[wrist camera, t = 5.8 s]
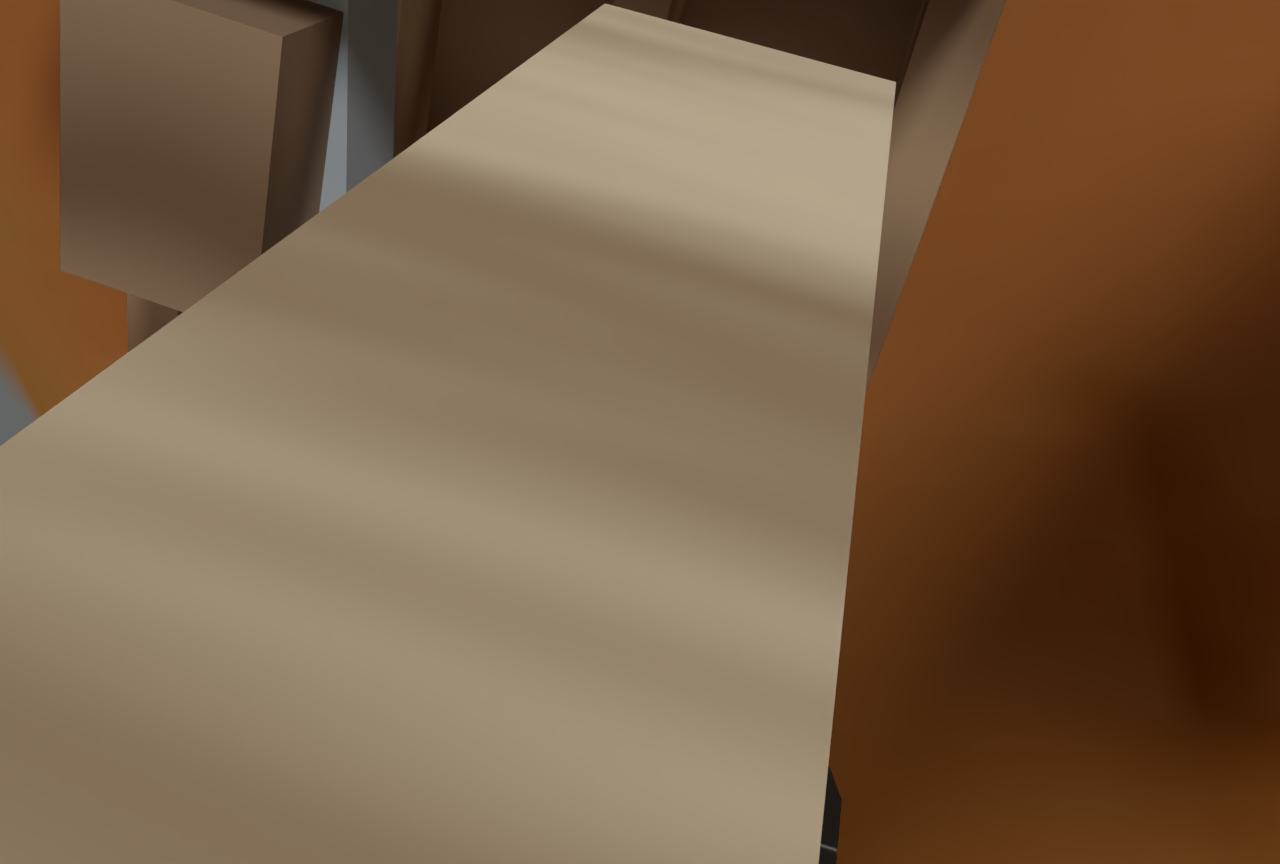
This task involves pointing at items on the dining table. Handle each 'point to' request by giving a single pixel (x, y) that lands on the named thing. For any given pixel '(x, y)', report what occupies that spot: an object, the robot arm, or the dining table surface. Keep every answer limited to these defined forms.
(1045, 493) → the dining table surface
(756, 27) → the rack
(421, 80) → the offcut
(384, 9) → the offcut
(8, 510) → the beige rectangular slab
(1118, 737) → the dining table surface
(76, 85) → the offcut
